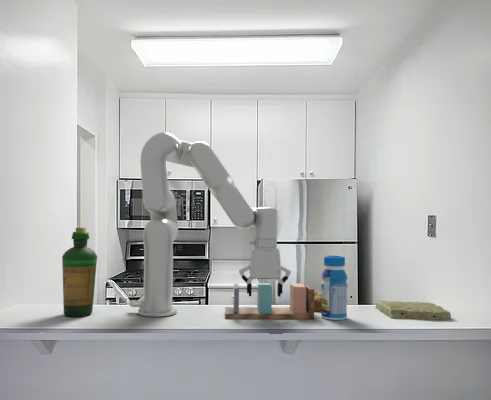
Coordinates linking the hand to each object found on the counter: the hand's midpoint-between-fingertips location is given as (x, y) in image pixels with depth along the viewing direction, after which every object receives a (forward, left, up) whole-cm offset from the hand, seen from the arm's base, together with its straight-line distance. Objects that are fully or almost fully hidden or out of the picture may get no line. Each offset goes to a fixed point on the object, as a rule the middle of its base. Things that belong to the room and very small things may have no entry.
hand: (264, 295), depth 144 cm
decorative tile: (+52, +4, -7) cm, 52 cm away
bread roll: (+20, +11, -7) cm, 24 cm away
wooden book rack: (+1, 0, -6) cm, 7 cm away
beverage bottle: (+23, -3, -7) cm, 24 cm away
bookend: (-9, 0, -5) cm, 10 cm away
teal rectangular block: (0, 0, -5) cm, 5 cm away
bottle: (-60, -1, -7) cm, 61 cm away
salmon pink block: (+11, 0, -5) cm, 12 cm away
